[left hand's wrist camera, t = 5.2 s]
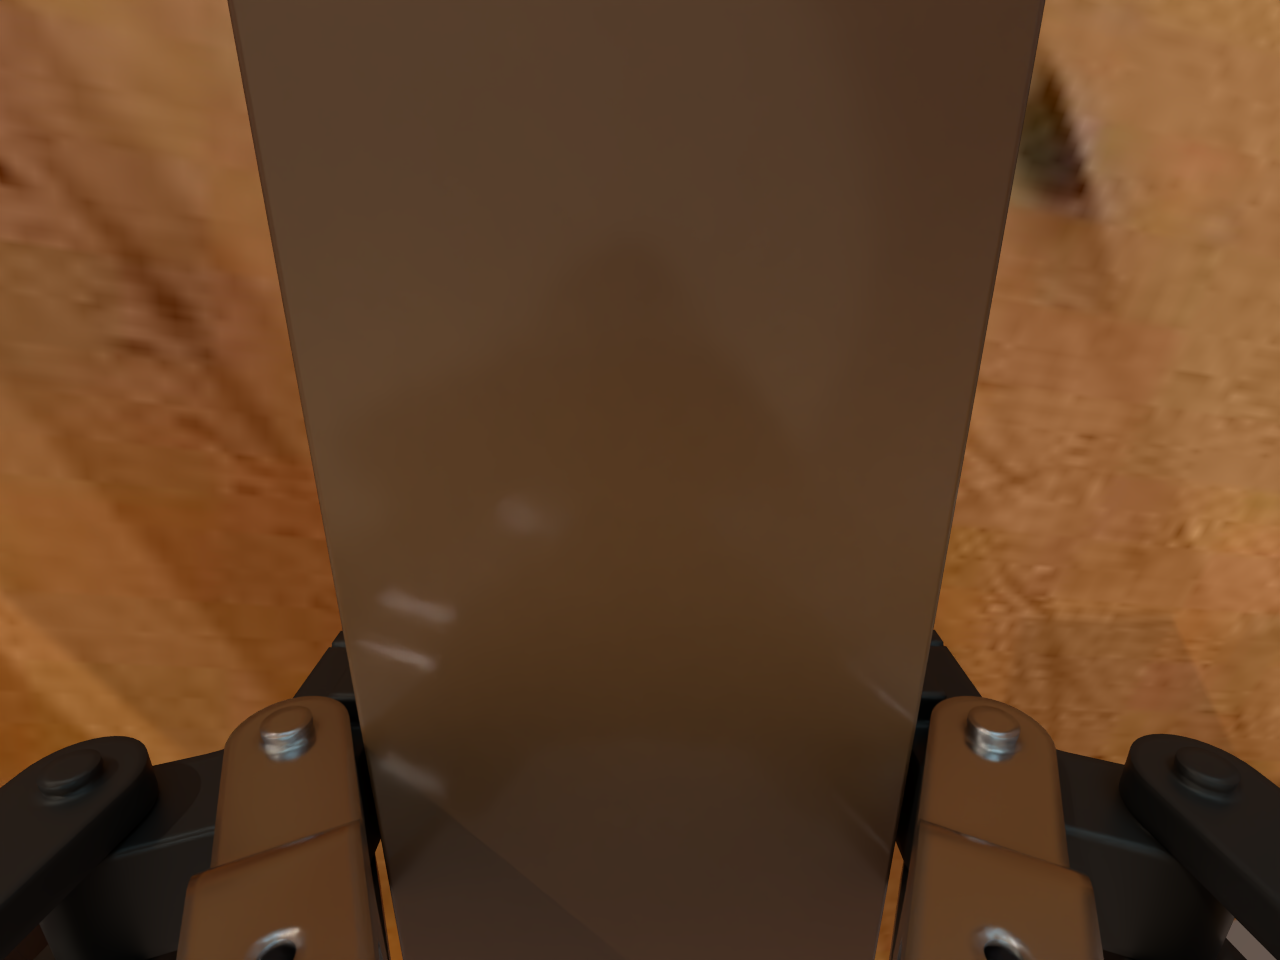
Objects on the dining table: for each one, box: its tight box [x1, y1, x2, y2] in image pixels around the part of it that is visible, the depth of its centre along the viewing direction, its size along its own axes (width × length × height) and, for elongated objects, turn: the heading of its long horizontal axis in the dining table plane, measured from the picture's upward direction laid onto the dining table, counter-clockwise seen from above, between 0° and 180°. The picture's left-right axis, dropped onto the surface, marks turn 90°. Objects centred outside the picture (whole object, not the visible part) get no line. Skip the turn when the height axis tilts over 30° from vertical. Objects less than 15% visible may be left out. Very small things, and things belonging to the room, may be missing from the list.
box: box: [227, 0, 1045, 960], centre depth 9 cm, size 22×6×9 cm, turn 0°
